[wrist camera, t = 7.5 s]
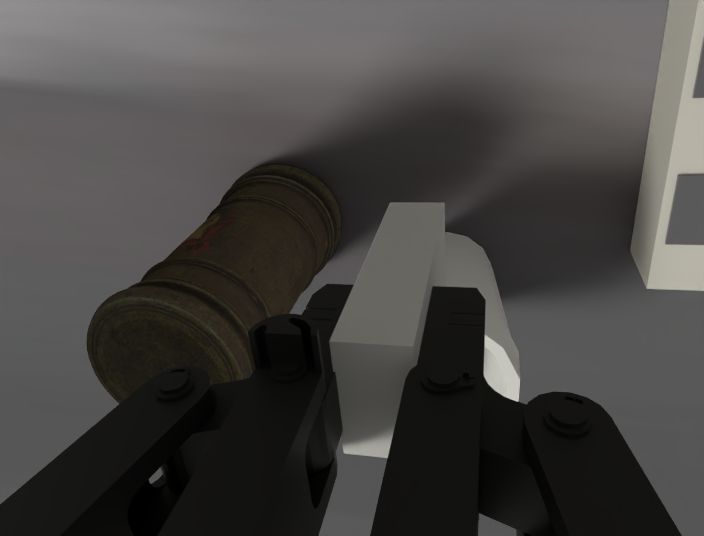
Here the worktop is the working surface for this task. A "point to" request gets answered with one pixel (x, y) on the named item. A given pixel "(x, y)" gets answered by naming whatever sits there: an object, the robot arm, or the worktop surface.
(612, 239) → the worktop surface
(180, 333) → the container
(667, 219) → the switch panel
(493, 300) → the foam cup
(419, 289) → the robot arm
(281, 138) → the worktop surface
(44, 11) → the worktop surface
